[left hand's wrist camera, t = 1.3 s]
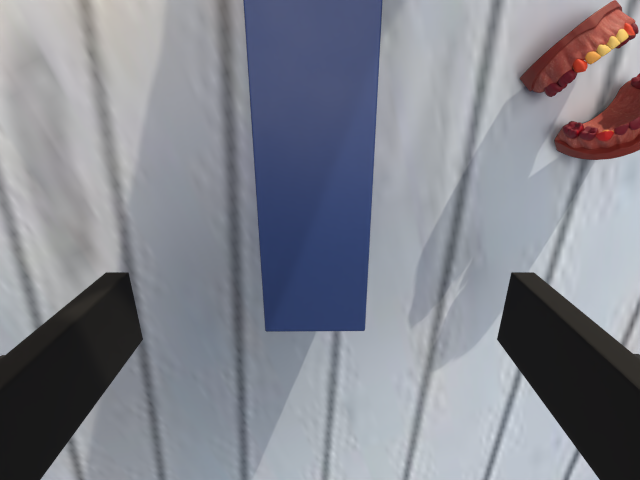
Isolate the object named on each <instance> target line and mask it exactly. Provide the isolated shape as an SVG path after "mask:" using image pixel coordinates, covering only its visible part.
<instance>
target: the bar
mask: <svg viewBox="0 0 640 480" xmlns="http://www.w3.org/2000/svg"><path fill="white" fill-rule="evenodd" d="M244 13H245V29H246V44H247V59H248V74H249V89H250V104H251V120H252V135H253V150H254V165H255V180H256V195H257V211H258V226H259V241H260V256H261V271H262V286H263V302H264V317H265V330H266V331H364V330H365V317H366V299H367V280H368V261H369V242H370V223H371V204H372V186H373V167H374V148H375V129H376V110H377V92H378V73H379V54H380V35H381V16H382V0H244Z"/></svg>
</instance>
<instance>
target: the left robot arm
mask: <svg viewBox="0 0 640 480" xmlns="http://www.w3.org/2000/svg"><path fill="white" fill-rule="evenodd" d="M142 340H143V338H142V333H141V329H140V324H139V319H138V315H137V310H136V305H135V301H134V296H133V291H132V287H131V282H130V277H129V273H105V274H104V275H103V276H101V277H100V278H99V279H98V280H96V281H95V282H94V283H93V284H92V285H90V286H89V287H88V288H87V289H85V290H84V291H83V292H82V293H81V294H79V295H78V296H77V297H76V298H75V299H73V300H72V301H71V302H70V303H68V304H67V305H66V306H65V307H64V308H62V309H61V310H60V311H59V312H57V313H56V314H55V315H54V316H53V317H51V318H50V319H49V320H48V321H46V322H45V323H44V324H43V325H42V326H40V327H39V328H38V329H37V330H36V331H34V332H33V333H32V334H31V335H29V336H28V337H27V338H26V339H25V340H23V341H22V342H21V343H20V344H18V345H17V346H16V347H15V348H14V349H12V350H11V351H10V352H9V353H7V354H6V355H2V356H0V480H40V479H41V478H42V477H43V475H44V474H45V473H46V471H47V470H48V468H49V467H50V466H51V464H52V463H53V462H54V460H55V459H56V457H57V456H58V455H59V453H60V452H61V451H62V449H63V448H64V447H65V445H66V444H67V442H68V441H69V440H70V438H71V437H72V436H73V434H74V433H75V431H76V430H77V429H78V427H79V426H80V425H81V423H82V422H83V421H84V419H85V418H86V416H87V415H88V414H89V412H90V411H91V410H92V408H93V407H94V405H95V404H96V403H97V401H98V400H99V399H100V397H101V396H102V395H103V393H104V392H105V390H106V389H107V388H108V386H109V385H110V384H111V382H112V381H113V380H114V378H115V377H116V375H117V374H118V373H119V371H120V370H121V369H122V367H123V366H124V364H125V363H126V362H127V360H128V359H129V358H130V356H131V355H132V354H133V352H134V351H135V349H136V348H137V347H138V345H139V344H140V343H141V341H142ZM497 340H498V341H499V343H500V344H501V345H502V347H503V348H504V349H505V351H506V352H507V354H508V355H509V356H510V358H511V359H512V360H513V362H514V363H515V364H516V366H517V367H518V369H519V370H520V371H521V373H522V374H523V375H524V377H525V378H526V380H527V381H528V382H529V384H530V385H531V386H532V388H533V389H534V390H535V392H536V393H537V395H538V396H539V397H540V399H541V400H542V401H543V403H544V404H545V405H546V407H547V408H548V410H549V411H550V412H551V414H552V415H553V416H554V418H555V419H556V421H557V422H558V423H559V425H560V426H561V427H562V429H563V430H564V431H565V433H566V434H567V436H568V437H569V438H570V440H571V441H572V442H573V444H574V445H575V447H576V448H577V449H578V451H579V452H580V453H581V455H582V456H583V457H584V459H585V460H586V462H587V463H588V464H589V466H590V467H591V468H592V470H593V471H594V473H595V474H596V475H597V477H598V478H599V479H600V480H640V355H639V354H633V353H631V352H630V351H629V350H628V349H626V348H625V347H624V346H623V345H622V344H620V343H619V342H618V341H617V340H615V339H614V338H613V337H612V336H611V335H609V334H608V333H607V332H606V331H604V330H603V329H602V328H601V327H600V326H598V325H597V324H596V323H595V322H594V321H592V320H591V319H590V318H589V317H587V316H586V315H585V314H584V313H583V312H581V311H580V310H579V309H578V308H576V307H575V306H574V305H573V304H572V303H570V302H569V301H568V300H567V299H565V298H564V297H563V296H562V295H561V294H559V293H558V292H557V291H556V290H555V289H553V288H552V287H551V286H550V285H548V284H547V283H546V282H545V281H544V280H542V279H541V278H540V277H539V276H537V275H536V274H535V273H511V277H510V282H509V287H508V291H507V296H506V301H505V305H504V310H503V315H502V319H501V324H500V329H499V333H498V338H497Z"/></svg>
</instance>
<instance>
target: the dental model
mask: <svg viewBox="0 0 640 480" xmlns="http://www.w3.org/2000/svg"><path fill="white" fill-rule="evenodd" d="M636 34H638V27H637V25H636V24H635V20H634V19H632V18H631V17H629V16H627V15H626V14H624V13H623V12H622V7H621V6H620V5H619V3H618V2H617V1H616V0H614V1H612V2H610V3H609V4H607V5H606V6H604V7H603V8H601V9H600V10H598V11H597V12H596V13H594V14H593V15H591V16H590V17H589V18H587V19H586V20H585V21H584V22H582V23H581V24H580V25H578V26H577V27H576V28H575V29H573V30H572V31H571V32H570V33H569V34H567V35H566V36H565V37H564V38H562V39H561V40H560V41H559V42H557V43H556V44H555V45H554V46H553V47H552V48H550V49H549V50H548V51H547V52H546V53H545V54H544V55H543V56H542V57H540V58H539V59H538V60H537V61H536V62H535V63H534V64H533V65H532V66H531V67H530V68H529V69H528V70H527V71H526V72H525V73H524V74H523V75H522V76H521V77H520V80H521V81H522V82H523V83H524V85H525V86H526V87H527V88H528V90H529V91H531V90H533V91H534V92H537V93H541V92H544V91H545V93H546V95H547V96H549V97H552V96H554V95H556V93H558V92H560V91H562V89H564V88H565V87H566V86H567V84H568V83H571V82H572V81H573V80H574V79H575V77H576V75H577V73H579V72H584V71H586V69H587V66H588V65H587V63H588V64H592V63H594V62H596V61H597V60H598V59H600V58H601V56H604V55H606V54H607V53H608V52H610V51H611V49H614V48H620V47H621V46H623V45H625V44H626V43H627V42H628V41H629V40H631V39H633V38H635V36H636ZM609 47H610V48H611V49H610V48H609ZM584 60H586V62H585V61H584ZM555 145H556V149H557V150H558V151H559V152H561V153H563V154H566V155H568V156H571V157H575V158H580V159H589V160H600V159H612V158H616V157H621V156H624V155H627V154H631V153H633V152H636V151H638V150H640V73H639V74H638V76H637V77H634V78H632V79H631V80H630V81H628V82H627V83H626V84H625V85H623V86H622V87H621V88H620V90H619V92H618V94H617V95H616V97H615V99H614V100H613V101H612V103H611V104H610V105H609V106H608V107H607V108H606V109H605V110H604V111H603V112H602V113H601V114H599V115H598V116H597V117H595V118H594V119H592V120H590V121H588V122H586V123H583V124H582V123H577V122H574V121H571V122H569V123H568V124H567V125H565V126H563V128H562V129H561V130H560V132H559V133H558V135H557V137H556V138H555Z"/></svg>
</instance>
